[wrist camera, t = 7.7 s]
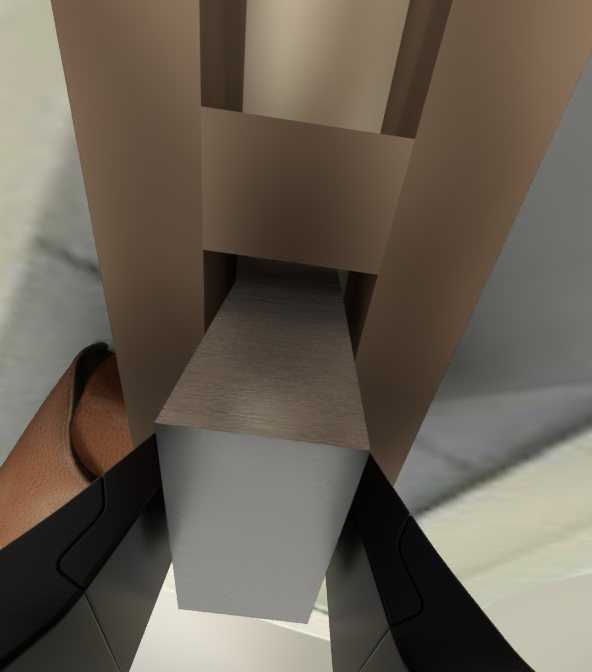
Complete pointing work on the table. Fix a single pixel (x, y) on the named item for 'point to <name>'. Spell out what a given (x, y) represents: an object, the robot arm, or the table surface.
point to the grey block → (263, 446)
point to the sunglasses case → (65, 443)
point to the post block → (311, 168)
